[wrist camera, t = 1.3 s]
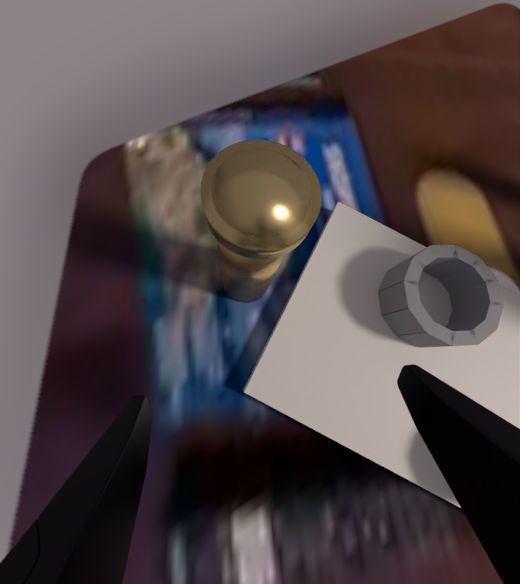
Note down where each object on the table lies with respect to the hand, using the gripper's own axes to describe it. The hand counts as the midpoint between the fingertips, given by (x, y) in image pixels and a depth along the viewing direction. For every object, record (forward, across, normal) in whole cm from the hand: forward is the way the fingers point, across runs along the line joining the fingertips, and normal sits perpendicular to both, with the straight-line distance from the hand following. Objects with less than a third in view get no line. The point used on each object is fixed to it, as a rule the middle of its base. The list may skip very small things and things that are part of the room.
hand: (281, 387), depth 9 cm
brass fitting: (+14, 0, +4) cm, 15 cm away
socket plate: (+9, -13, +9) cm, 18 cm away
